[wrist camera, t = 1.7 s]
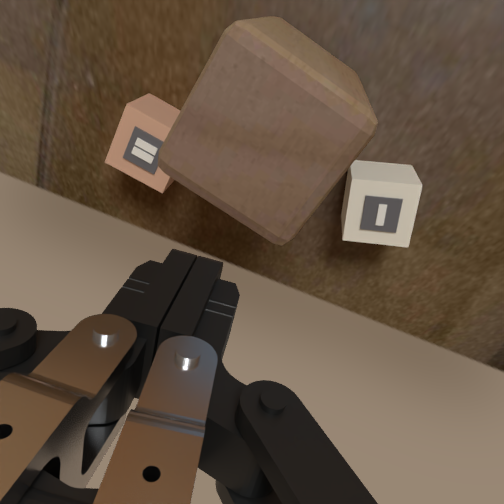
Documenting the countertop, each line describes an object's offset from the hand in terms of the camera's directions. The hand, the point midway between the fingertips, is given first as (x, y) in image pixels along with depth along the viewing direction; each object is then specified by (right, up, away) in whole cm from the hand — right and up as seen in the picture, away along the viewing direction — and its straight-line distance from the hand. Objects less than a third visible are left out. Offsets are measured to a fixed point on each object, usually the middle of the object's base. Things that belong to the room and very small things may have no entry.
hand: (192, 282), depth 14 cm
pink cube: (-7, +13, +34) cm, 37 cm away
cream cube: (+14, +7, +34) cm, 37 cm away
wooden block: (+5, +16, +31) cm, 35 cm away
